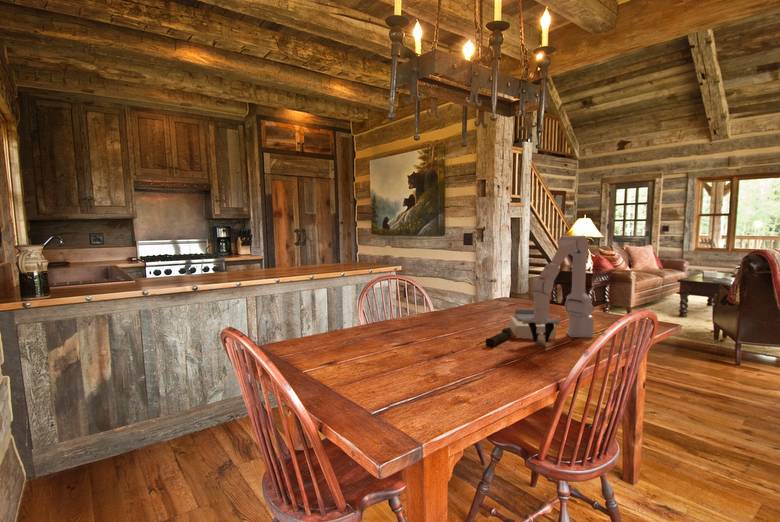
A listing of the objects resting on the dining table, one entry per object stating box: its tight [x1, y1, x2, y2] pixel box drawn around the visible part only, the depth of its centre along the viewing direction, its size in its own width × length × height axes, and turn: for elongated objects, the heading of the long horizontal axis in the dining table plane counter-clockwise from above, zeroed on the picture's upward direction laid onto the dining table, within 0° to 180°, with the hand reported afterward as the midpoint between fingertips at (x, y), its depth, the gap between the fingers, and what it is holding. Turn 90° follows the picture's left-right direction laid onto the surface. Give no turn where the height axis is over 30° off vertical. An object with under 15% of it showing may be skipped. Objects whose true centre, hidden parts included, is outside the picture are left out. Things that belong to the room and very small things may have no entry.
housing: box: [509, 315, 557, 340], centre depth 178 cm, size 16×18×6 cm
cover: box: [514, 308, 534, 320], centre depth 182 cm, size 11×11×3 cm
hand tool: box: [485, 327, 512, 349], centre depth 165 cm, size 19×4×5 cm, turn 136°
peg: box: [534, 331, 547, 347], centre depth 161 cm, size 4×4×5 cm
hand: (540, 341), depth 161 cm, fingers closed on peg, 4 cm apart
